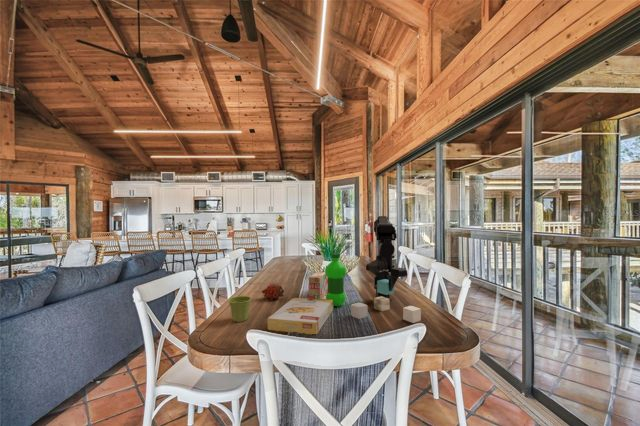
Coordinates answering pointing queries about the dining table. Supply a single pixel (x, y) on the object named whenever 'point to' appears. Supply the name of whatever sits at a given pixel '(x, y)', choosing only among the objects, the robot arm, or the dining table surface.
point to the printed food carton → (318, 285)
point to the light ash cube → (381, 303)
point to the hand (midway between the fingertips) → (385, 289)
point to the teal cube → (384, 287)
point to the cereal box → (301, 315)
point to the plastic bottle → (336, 280)
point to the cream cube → (412, 314)
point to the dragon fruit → (273, 291)
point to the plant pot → (239, 308)
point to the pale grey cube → (359, 310)
